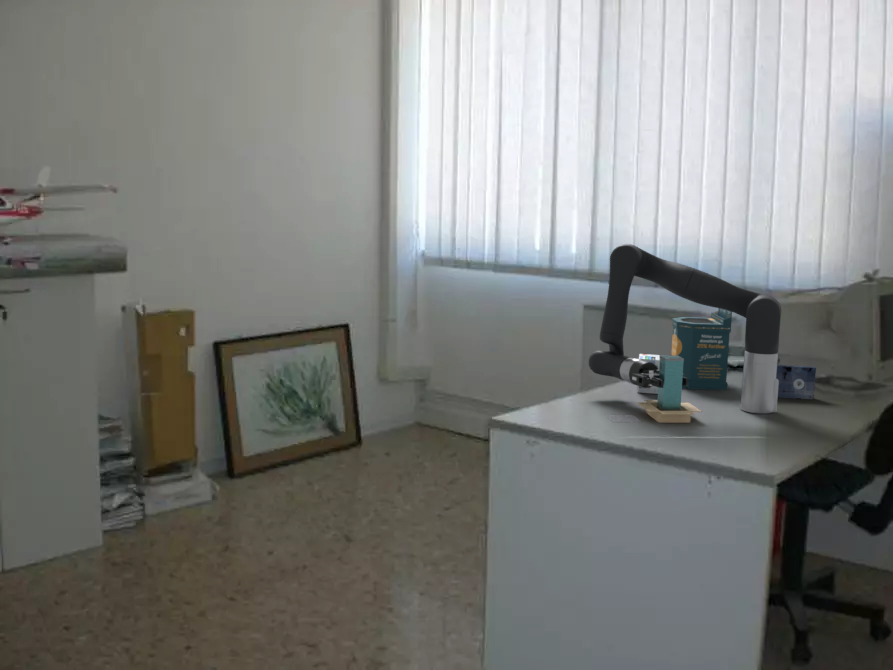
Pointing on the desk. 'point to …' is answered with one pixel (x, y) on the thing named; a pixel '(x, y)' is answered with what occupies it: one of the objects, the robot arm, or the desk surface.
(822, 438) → the desk surface
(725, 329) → the donation box
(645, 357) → the light bulb box
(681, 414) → the carton
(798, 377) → the vhs cassette tape
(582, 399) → the desk surface
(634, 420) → the mat
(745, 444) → the desk surface
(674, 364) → the tall box
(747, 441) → the desk surface
